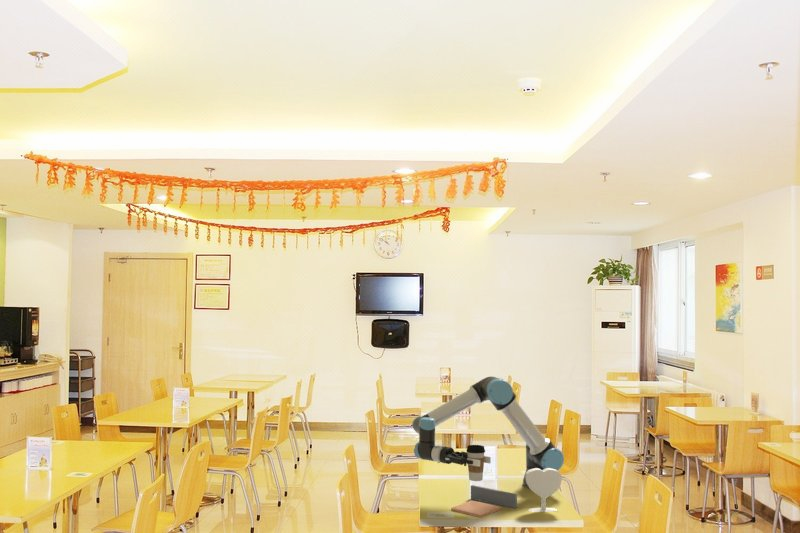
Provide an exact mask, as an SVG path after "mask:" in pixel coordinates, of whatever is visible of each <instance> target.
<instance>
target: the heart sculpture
mask: <svg viewBox="0 0 800 533" xmlns="http://www.w3.org/2000/svg"><path fill="white" fill-rule="evenodd" d="M525 472H526V471H525ZM524 475H525V474H524ZM525 479H526V483H527V485H528V486H529V487H528V488H529V489H530V490H531V492H533V493H534V494H535V495H537V496H538V497H540V500H541V501H540V506H541V507H534V508H528V511H529V512H532V513H547V512H550V513H554V512H553V511H557V508H556V509H555V508H554V507H547V498H549V497H550V496H552V495H554V494H555V493H556V492H557V491H558V490H559V488H560V487H561V484H562V474H561V472H559V470H558V471H557V470H555V469H552V468H545V469H544V470H541V469H539V468H533V469H530V470H528V471H527V472H526V475H525Z"/></svg>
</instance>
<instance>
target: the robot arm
mask: <svg viewBox="0 0 800 533" xmlns="http://www.w3.org/2000/svg"><path fill="white" fill-rule="evenodd" d="M486 401H490V402H491V404H492V406H494V408H495V410H497V411H498V412H499V411H500V412H502V413H503V415H504V416H505V417H506V418H507V420H508V421H509V422H510V424H511V425H512V427H514V429H515V430H516V432H517V433H518V434H519V435H520V437H521V438H522V440H524V442H525V443H526V444H525V461H526V462H525V466H526V468H525V472H524V475H523V478H522V485H523V486H524V487H526V488H529V486H528V485H527V483H526V479H525V475H526V472H527V471H528V470H530V469H533V468H539V469H541V470H544V469H545V468H552V469H555V470H557V471H558V472H559V471H560V470H561V469H562V467H563V466H564V463H565V461H564V460H565V456H564V454H563V452H562V450H560V449H559V448H557V447H556V446H555V445H554V444H553V441H551V440H550V438H547V437H544V435H543V434H542V433H541V431H540V430H539V429H538V427H536V424H534V423H533V421H532V420H531V418H530V417H529V416H528V415H527V413H526V412H525V410H524V409H523V408H522V406H520V404H519V403H518V401H517V395H516V394H515V392H514V390H513V386H512V385H511V384H510V382H508V380H506V379H504V378H499V377H496V376H487V377H484V378H482V379H481V380H479V381H477V382H475V383H474V384H472V385H470V387H469V389H467V390H466V391H464V392H462V393H460V394H459V395H457V396H455V397H454V398H451V399H450V400H449V401H447V402H444V403H443V404H442V405H440V406H438V407H436V408H435V409H433V410H431V411H429V412H427V413H426V414H423V415H422V416H417V417H414V419H413V420H412V423H411V426H412V429H413V430H414V431H415V433H417V434H419V435H418V438H419V441H418V442H417V443H416V444H415V445H414V449H413V453H414V456H415V457H416V458H417V459H419V460H420V459H421V460H424V461H430V462H431V461H432V462H437V464H440V463H442V464H446V465H447V464H448V465H451V464H456V465H460V466H464V467H467V466H468V465H473V466H478V467H480V460H477V459H471V458H467V456H468V455H467V451H463V450H462V451H455V450H454V448H453V447H451V446H445V445H440V444H436V428H437V426H439V425H441V424H442V423H445V422H446V421H448V420H450V419H451V418H453V417H455V416H456V415H458V414H460V413H462V412H463V411H465V410H467V409H469V408H471V407H472V406H474V405H475V404H482V403H484V402H486ZM491 459H492V458H491V456H486V455H484V464H491V463H492V462H491V461H492V460H491Z"/></svg>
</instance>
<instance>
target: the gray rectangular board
mask: <svg viewBox="0 0 800 533" xmlns="http://www.w3.org/2000/svg"><path fill="white" fill-rule="evenodd" d="M517 496H518V494H517V493H516V492H515V493H514V492H509V491H504V490H499V489H494V488H489V487H483V486H479V485H475V484H471V485H470V499H471V500H475V499H476V501H479V500H480V501H479V502H483V503H488V504H492V505H497V506H503V507H508V508H512V509H518V497H517Z"/></svg>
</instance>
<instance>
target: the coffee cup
mask: <svg viewBox="0 0 800 533" xmlns="http://www.w3.org/2000/svg"><path fill="white" fill-rule="evenodd" d="M466 452H467V455H468V456H467V458H471V459H477V460H480V467H478V466H473V465H467V468H468V469H467V470H468V479H469V481H472V482H480V481H483V478H484V477H483V476H484V465H485V463H484V456H485V453H486V449H485V446H484V445H481V444H469V445H467V449H466Z"/></svg>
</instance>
